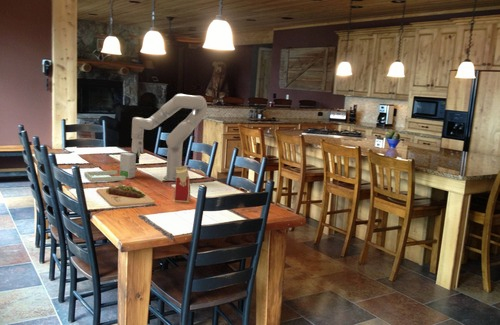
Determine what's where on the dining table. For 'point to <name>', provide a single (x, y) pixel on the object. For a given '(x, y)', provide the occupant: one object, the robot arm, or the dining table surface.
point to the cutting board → (124, 196)
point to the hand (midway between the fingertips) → (136, 163)
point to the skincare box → (127, 165)
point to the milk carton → (182, 185)
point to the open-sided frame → (96, 179)
